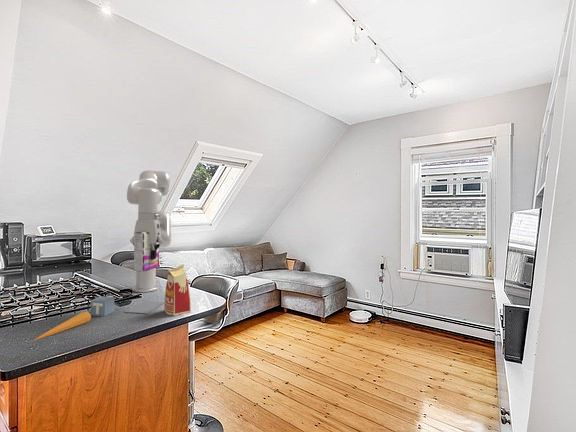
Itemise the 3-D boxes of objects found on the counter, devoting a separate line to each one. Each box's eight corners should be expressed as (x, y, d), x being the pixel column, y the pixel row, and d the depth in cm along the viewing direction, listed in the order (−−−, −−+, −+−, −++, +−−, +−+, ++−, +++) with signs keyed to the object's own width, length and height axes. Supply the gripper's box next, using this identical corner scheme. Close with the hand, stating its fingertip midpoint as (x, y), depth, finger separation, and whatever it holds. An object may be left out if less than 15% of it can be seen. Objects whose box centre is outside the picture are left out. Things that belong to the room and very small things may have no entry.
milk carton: (181, 306, 143) (183, 262, 142) (191, 312, 136) (193, 265, 136) (161, 310, 136) (162, 264, 136) (171, 316, 130) (172, 267, 129)
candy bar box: (149, 266, 145) (150, 230, 144) (159, 267, 144) (160, 230, 143) (132, 271, 134) (133, 231, 133) (143, 272, 133) (144, 232, 132)
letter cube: (100, 310, 134) (100, 296, 134) (114, 311, 134) (114, 297, 134) (90, 315, 128) (90, 300, 128) (104, 316, 128) (104, 301, 127)
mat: (143, 301, 148) (143, 300, 148) (164, 303, 147) (164, 302, 147) (124, 312, 133) (124, 311, 133) (147, 314, 132) (147, 313, 132)
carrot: (87, 322, 123) (83, 311, 123) (94, 319, 121) (90, 308, 121) (30, 348, 104) (25, 335, 104) (38, 346, 103) (33, 333, 103)
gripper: (170, 217, 141) (169, 258, 142) (133, 215, 143) (132, 256, 143) (162, 218, 134) (161, 261, 134) (123, 216, 135) (122, 259, 136)
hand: (146, 258), depth 139 cm, fingers closed on candy bar box, 5 cm apart
